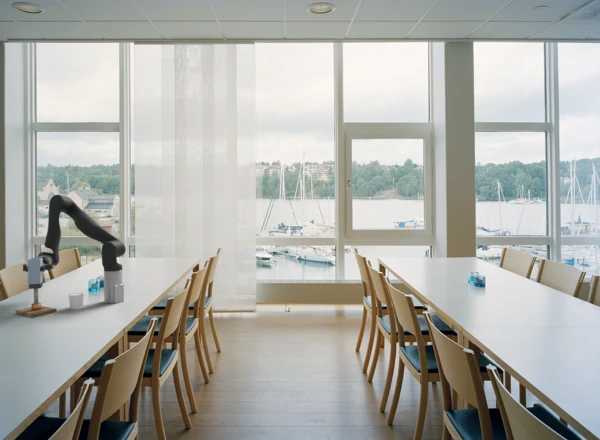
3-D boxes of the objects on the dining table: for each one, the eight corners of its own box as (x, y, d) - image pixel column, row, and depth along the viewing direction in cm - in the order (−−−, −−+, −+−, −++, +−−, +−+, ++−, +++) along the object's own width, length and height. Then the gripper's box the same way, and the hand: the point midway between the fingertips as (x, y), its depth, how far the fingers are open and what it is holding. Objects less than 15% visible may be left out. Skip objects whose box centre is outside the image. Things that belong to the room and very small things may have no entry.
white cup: (80, 305, 222) (80, 292, 222) (86, 307, 218) (86, 294, 218) (66, 307, 217) (66, 294, 217) (72, 310, 213) (72, 296, 212)
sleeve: (42, 281, 210) (42, 257, 209) (40, 283, 205) (40, 259, 205) (30, 282, 208) (30, 257, 208) (28, 284, 204) (27, 259, 203)
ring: (42, 286, 210) (42, 282, 210) (40, 288, 206) (40, 284, 205) (31, 286, 208) (31, 282, 208) (29, 288, 204) (28, 284, 204)
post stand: (56, 311, 210) (55, 279, 209) (34, 317, 200) (34, 283, 199) (38, 308, 216) (37, 276, 215) (16, 313, 206) (15, 280, 205)
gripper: (25, 257, 217) (16, 262, 201) (57, 256, 222) (51, 261, 206) (25, 271, 218) (16, 278, 202) (57, 270, 223) (51, 276, 207)
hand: (34, 269), depth 204 cm, fingers closed on sleeve, 5 cm apart
